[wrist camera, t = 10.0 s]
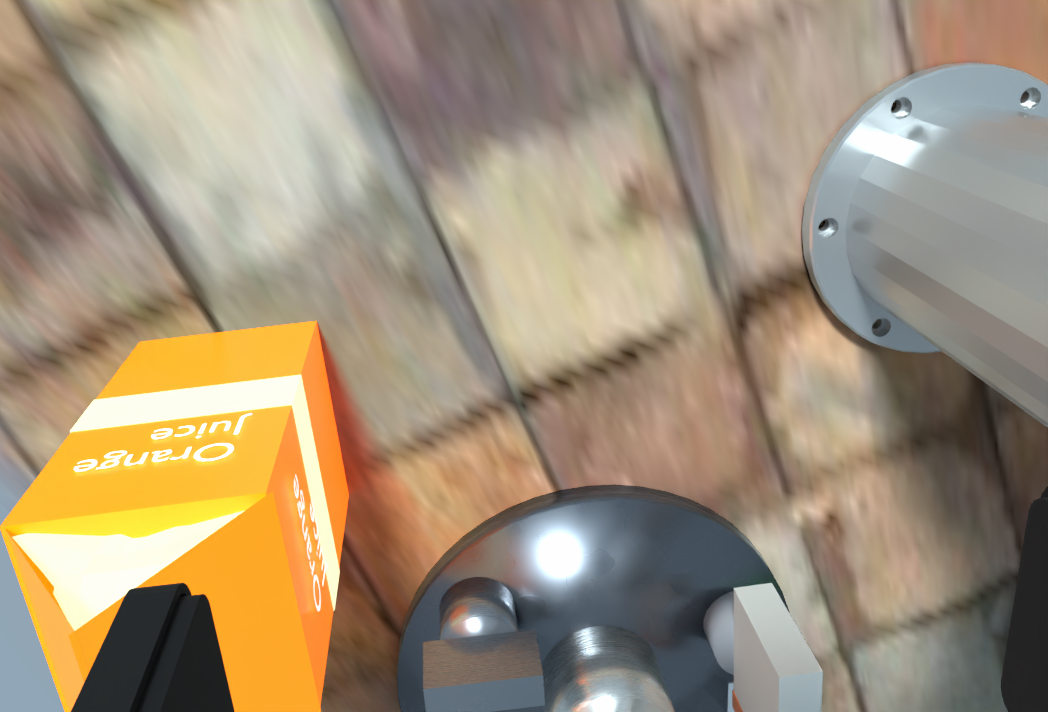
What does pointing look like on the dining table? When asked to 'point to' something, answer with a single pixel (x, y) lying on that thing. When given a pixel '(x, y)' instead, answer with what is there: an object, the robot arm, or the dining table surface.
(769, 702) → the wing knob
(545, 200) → the dining table surface
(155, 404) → the orange juice
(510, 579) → the tribrach base
